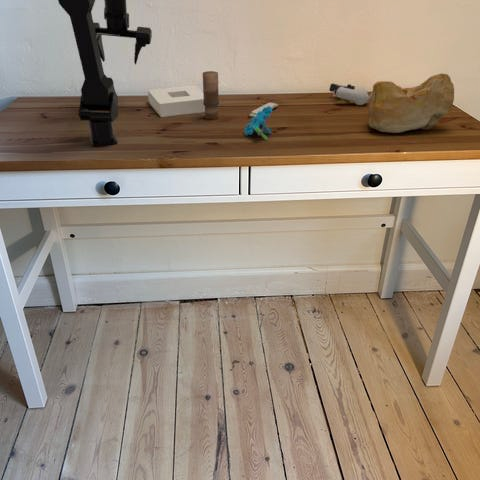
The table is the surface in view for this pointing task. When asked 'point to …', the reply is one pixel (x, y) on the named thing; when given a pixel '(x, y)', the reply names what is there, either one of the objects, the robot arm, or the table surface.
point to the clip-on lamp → (350, 93)
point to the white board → (177, 100)
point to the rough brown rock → (410, 104)
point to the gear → (259, 123)
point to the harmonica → (254, 113)
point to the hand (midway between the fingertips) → (119, 62)
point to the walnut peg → (210, 94)
